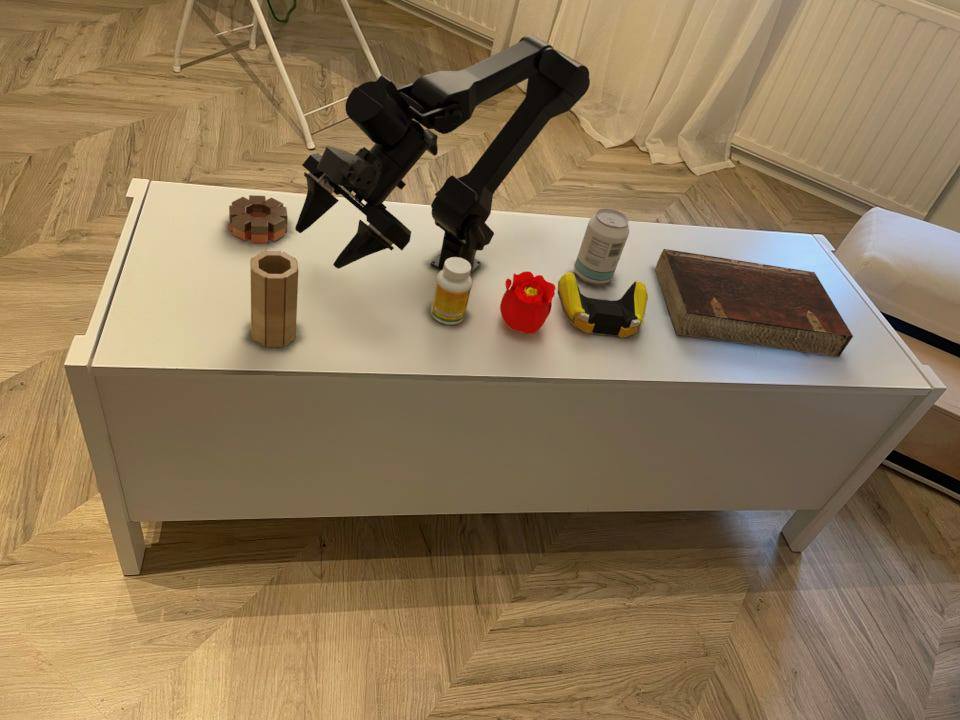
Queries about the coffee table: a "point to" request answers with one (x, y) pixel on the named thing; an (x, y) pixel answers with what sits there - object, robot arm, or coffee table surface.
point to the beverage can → (602, 246)
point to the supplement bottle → (452, 291)
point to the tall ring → (273, 298)
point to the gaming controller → (603, 309)
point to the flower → (527, 302)
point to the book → (750, 303)
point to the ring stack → (258, 219)
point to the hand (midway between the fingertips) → (316, 248)
